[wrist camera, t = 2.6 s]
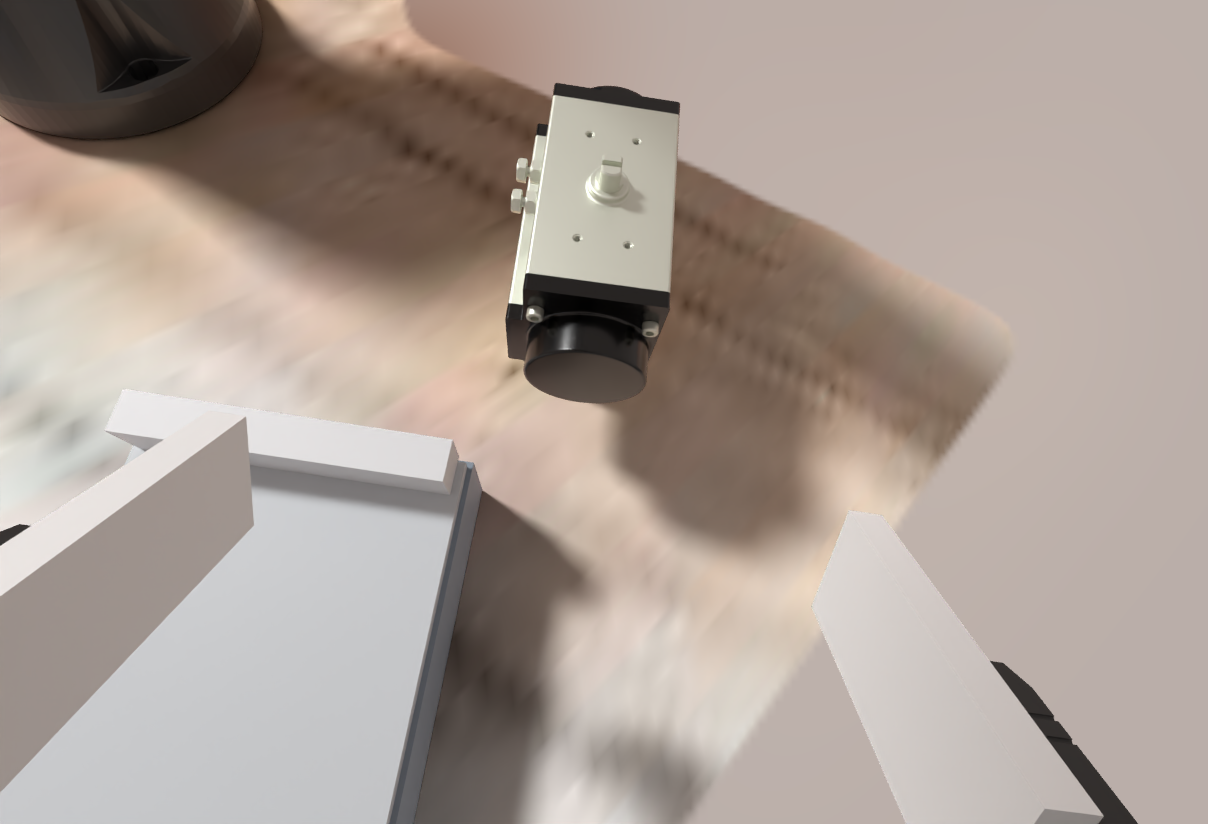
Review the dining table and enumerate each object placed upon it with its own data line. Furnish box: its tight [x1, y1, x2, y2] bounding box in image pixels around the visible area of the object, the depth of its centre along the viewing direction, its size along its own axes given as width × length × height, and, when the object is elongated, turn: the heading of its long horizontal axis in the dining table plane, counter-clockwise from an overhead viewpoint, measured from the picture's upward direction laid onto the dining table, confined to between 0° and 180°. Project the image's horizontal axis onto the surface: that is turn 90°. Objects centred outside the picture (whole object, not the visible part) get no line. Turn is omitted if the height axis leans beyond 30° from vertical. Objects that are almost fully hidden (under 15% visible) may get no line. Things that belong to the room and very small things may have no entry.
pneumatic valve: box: [505, 83, 680, 403], centre depth 25 cm, size 6×12×12 cm, turn 175°
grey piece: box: [0, 389, 482, 824], centre depth 20 cm, size 22×12×7 cm, turn 173°
